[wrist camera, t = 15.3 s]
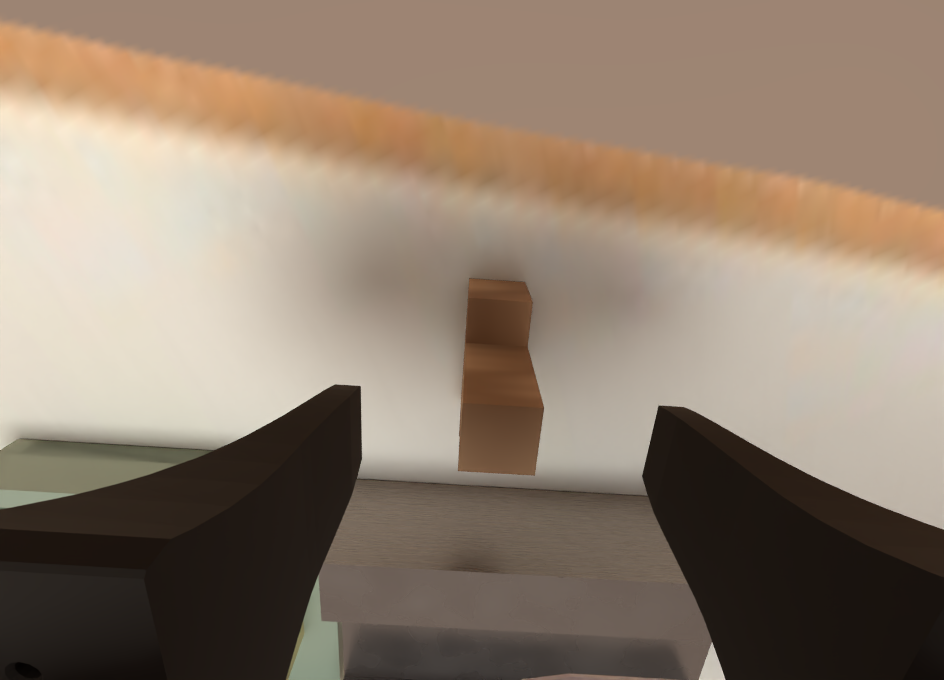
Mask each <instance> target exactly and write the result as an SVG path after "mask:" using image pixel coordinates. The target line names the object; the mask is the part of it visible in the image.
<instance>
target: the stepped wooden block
mask: <svg viewBox="0 0 944 680" xmlns="http://www.w3.org/2000/svg"><path fill="white" fill-rule="evenodd" d="M532 304H533V302H532V299H531V296H530V294H529V291H528V289H527V286H526V283H525V282H515V281H500V280H485V279H471V278H469V291H468V306H467V321H466V335H465V350H464V365H463V380H462V395H461V412H460V430H459V436H460V442H459V461H458V471H467V472H484V473H501V474H518V475H534V476H535V470H536V462H537V455H538V448H539V441H540V433H541V426H542V419H543V412H544V406H543V402H542V399H541V395H540V391H539V388H538V384H537V380H536V376H535V373H534V369H533V365H532V362H531V358H530V354H529V351H528V338H529V330H530V321H531V313H532Z"/></svg>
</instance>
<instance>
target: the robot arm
mask: <svg viewBox="0 0 944 680" xmlns="http://www.w3.org/2000/svg"><path fill="white" fill-rule="evenodd" d="M361 460H362V440H361V386H350V385H333V386H331V387H329V388H328V389H326V390H324V391H322V392H321V393H319V394H318V395H316V396H314V397H313V398H311V399H310V400H308V401H306V402H305V403H303V404H301V405H300V406H298V407H296V408H295V409H293V410H292V411H290V412H288V413H287V414H285V415H283V416H282V417H280V418H278V419H276V420H274V421H273V422H271V423H269V424H267V425H265V426H263V427H262V428H260V429H258V430H256V431H254V432H252V433H251V434H249V435H247V436H245V437H243V438H241V439H239V440H237V441H234V442H232V443H230V444H228V445H226V446H224V447H221V448H219V449H217V450H214V451H212V452H210V453H207V454H205V455H202V456H200V457H197V458H195V459H192V460H189V461H186V462H183V463H181V464H178V465H175V466H172V467H169V468H166V469H163V470H161V471H158V472H155V473H152V474H149V475H146V476H143V477H139V478H136V479H132V480H129V481H125V482H122V483H118V484H115V485H111V486H107V487H103V488H99V489H95V490H91V491H88V492H83V493H79V494H75V495H71V496H66V497H61V498H56V499H51V500H46V501H41V502H36V503H31V504H26V505H21V506H16V507H11V508H6V509H0V680H286V677H287V674H288V670H289V667H290V664H291V660H292V657H293V653H294V650H295V646H296V643H297V639H298V636H299V633H300V629H301V626H302V623H303V620H304V616H305V613H306V610H307V607H308V603H309V600H310V597H311V594H312V591H313V588H314V586H315V583H316V580H317V578H318V575H319V573H320V570H321V568H322V565H323V563H324V561H325V558H326V556H327V554H328V551H329V549H330V547H331V544H332V542H333V539H334V537H335V535H336V532H337V530H338V528H339V525H340V523H341V521H342V518H343V516H344V513H345V511H346V508H347V506H348V504H349V501H350V499H351V496H352V494H353V490H354V486H355V483H356V479H357V475H358V471H359V468H360V464H361ZM642 477H643V481H644V484H645V487H646V491H647V494H648V497H649V500H650V503H651V506H652V509H653V512H654V515H655V517H656V519H657V521H658V523H659V525H660V528H661V530H662V532H663V534H664V536H665V538H666V540H667V542H668V544H669V546H670V548H671V550H672V552H673V554H674V557H675V559H676V561H677V563H678V565H679V567H680V569H681V571H682V573H683V575H684V577H685V579H686V581H687V583H688V585H689V587H690V589H691V591H692V593H693V595H694V597H695V600H696V602H697V604H698V607H699V609H700V611H701V613H702V616H703V618H704V621H705V623H706V626H707V629H708V632H709V634H710V637H711V640H712V642H713V645H714V648H715V651H716V653H717V656H718V659H719V662H720V664H721V667H722V670H723V673H724V676H725V679H726V680H944V530H943V529H940V528H937V527H934V526H931V525H928V524H926V523H923V522H920V521H918V520H915V519H912V518H910V517H907V516H904V515H902V514H899V513H896V512H894V511H891V510H888V509H886V508H883V507H881V506H878V505H876V504H873V503H871V502H868V501H866V500H863V499H861V498H859V497H857V496H854V495H852V494H850V493H848V492H845V491H843V490H841V489H839V488H836V487H834V486H832V485H830V484H827V483H825V482H823V481H821V480H819V479H817V478H815V477H813V476H811V475H809V474H807V473H805V472H803V471H801V470H799V469H797V468H795V467H793V466H791V465H789V464H787V463H785V462H784V461H782V460H780V459H778V458H776V457H774V456H772V455H771V454H769V453H767V452H765V451H763V450H762V449H760V448H758V447H756V446H754V445H753V444H751V443H749V442H747V441H746V440H744V439H742V438H740V437H739V436H737V435H735V434H734V433H732V432H730V431H728V430H727V429H725V428H723V427H721V426H720V425H718V424H716V423H714V422H713V421H711V420H709V419H707V418H705V417H704V416H702V415H700V414H698V413H696V412H694V411H692V410H689V409H687V408H684V407H672V406H659V407H658V411H657V415H656V419H655V424H654V428H653V432H652V436H651V441H650V445H649V449H648V454H647V458H646V462H645V466H644V471H643V475H642ZM522 680H677V679H659V678H641V677H623V676H606V675H588V674H570V673H569V674H561V675H553V676H545V677H537V678H529V679H522Z"/></svg>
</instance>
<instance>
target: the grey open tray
mask: <svg viewBox="0 0 944 680" xmlns="http://www.w3.org/2000/svg"><path fill="white" fill-rule="evenodd" d="M319 591H320V607H321V621H329V622H342V635H343V659H344V679H343V680H522V679H529V678H537V677H545V676H553V675H561V674H569V673H570V674H588V675H606V676H623V677H641V678H659V679H677V680H698V679H699V676H700V674H701V671H702V668H703V665H704V662H705V659H706V656H707V654H708V651H709V648H710V645H711V642H712V640H711V637H710V634H709V632H708V629H707V626H706V623H705V621H704V618H703V616H702V613H701V611H700V609H699V607H698V604H697V602H696V600H695V597H694V595H693V593H692V591H691V589H690V587H689V585H688V583H687V581H686V579H685V577H684V575H683V573H682V571H681V569H680V567H679V565H678V563H677V561H676V559H675V557H674V554H673V552H672V550H671V548H670V546H669V544H668V542H667V540H666V538H665V536H664V534H663V532H662V530H661V528H660V525H659V523H658V521H657V519H656V517H655V515H654V512H653V509H652V506H651V503H650V500H649V497H648V496H631V495H614V494H597V493H581V492H564V491H547V490H530V489H513V488H496V487H480V486H463V485H446V484H429V483H412V482H395V481H379V480H362V479H356V483H355V486H354V490H353V494H352V496H351V499H350V501H349V504H348V506H347V508H346V511H345V513H344V516H343V518H342V521H341V523H340V525H339V528H338V530H337V532H336V535H335V537H334V539H333V542H332V544H331V547H330V549H329V551H328V554H327V556H326V558H325V561H324V563H323V565H322V568H321V570H320V573H319Z"/></svg>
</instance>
